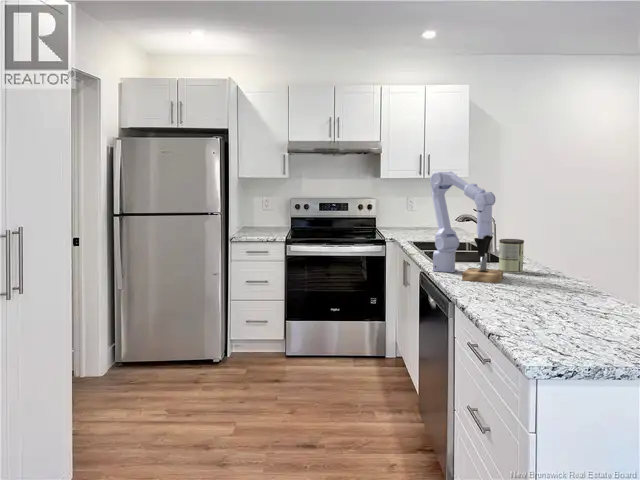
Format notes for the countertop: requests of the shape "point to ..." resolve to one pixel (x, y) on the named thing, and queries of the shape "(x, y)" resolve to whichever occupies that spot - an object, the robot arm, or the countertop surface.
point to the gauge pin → (483, 264)
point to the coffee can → (511, 255)
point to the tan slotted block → (482, 275)
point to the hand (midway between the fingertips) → (483, 254)
